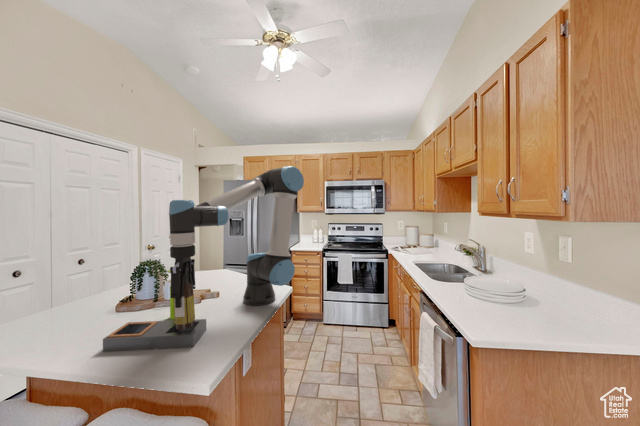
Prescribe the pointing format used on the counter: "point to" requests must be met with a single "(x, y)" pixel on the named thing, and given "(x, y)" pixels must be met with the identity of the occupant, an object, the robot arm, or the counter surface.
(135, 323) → the grey tray
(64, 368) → the counter surface
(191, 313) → the sauce bottle
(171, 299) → the soap dispenser
